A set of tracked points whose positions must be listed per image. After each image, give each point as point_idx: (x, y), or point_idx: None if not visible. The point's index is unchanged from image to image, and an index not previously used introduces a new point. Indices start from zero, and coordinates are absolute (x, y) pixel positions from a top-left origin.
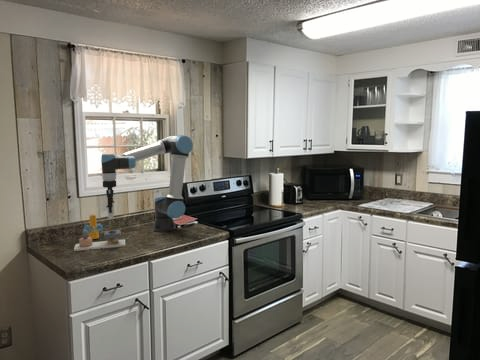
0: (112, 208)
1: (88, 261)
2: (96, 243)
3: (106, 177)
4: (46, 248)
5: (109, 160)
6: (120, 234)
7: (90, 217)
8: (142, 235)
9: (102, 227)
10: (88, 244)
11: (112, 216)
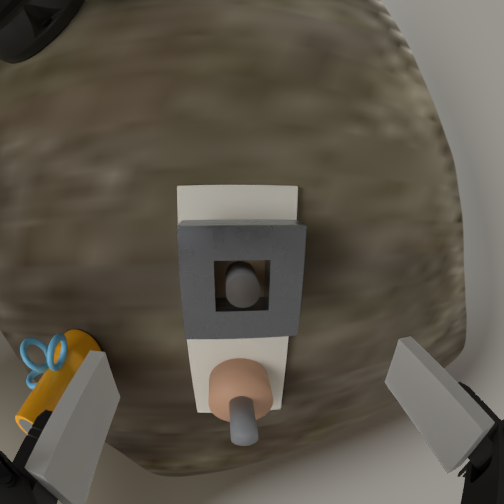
0: (481, 413)
1: (427, 328)
2: (218, 343)
3: None
4: (205, 461)
5: None
6: (257, 221)
7: None
8: (86, 93)
9: (57, 341)
10: (266, 375)
11: (419, 354)
